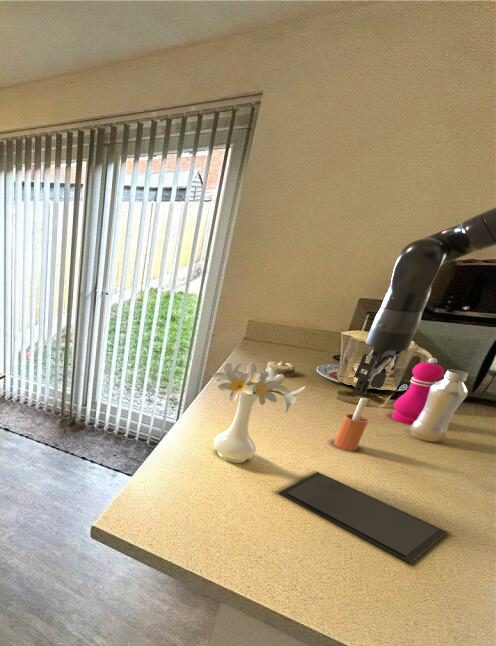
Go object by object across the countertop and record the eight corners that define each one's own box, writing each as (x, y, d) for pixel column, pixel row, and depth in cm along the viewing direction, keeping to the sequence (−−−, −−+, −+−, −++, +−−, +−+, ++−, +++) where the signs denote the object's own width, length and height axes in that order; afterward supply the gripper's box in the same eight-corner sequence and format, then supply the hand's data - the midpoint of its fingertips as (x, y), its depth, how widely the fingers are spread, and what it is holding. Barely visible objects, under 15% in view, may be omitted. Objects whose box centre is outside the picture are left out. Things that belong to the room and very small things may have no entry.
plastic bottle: (419, 431, 112) (451, 366, 104) (448, 443, 106) (484, 375, 98) (400, 433, 111) (431, 368, 103) (429, 446, 105) (464, 377, 97)
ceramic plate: (369, 399, 131) (372, 391, 130) (298, 372, 154) (300, 365, 153) (428, 392, 136) (432, 384, 134) (350, 366, 159) (353, 359, 158)
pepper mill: (428, 428, 113) (460, 363, 106) (396, 424, 116) (425, 360, 108) (413, 417, 120) (442, 355, 112) (383, 413, 122) (410, 352, 114)
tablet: (445, 534, 77) (447, 530, 76) (408, 565, 70) (410, 561, 70) (316, 474, 95) (317, 471, 94) (277, 494, 88) (279, 491, 88)
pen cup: (359, 449, 104) (372, 419, 101) (350, 453, 102) (362, 423, 99) (338, 441, 108) (350, 412, 105) (329, 445, 106) (341, 416, 103)
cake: (298, 380, 149) (303, 367, 146) (268, 378, 151) (272, 365, 149) (288, 368, 157) (292, 356, 154) (260, 367, 160) (263, 355, 157)
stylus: (349, 446, 105) (368, 399, 99) (346, 447, 104) (366, 400, 99) (343, 443, 106) (362, 397, 100) (340, 445, 105) (359, 398, 100)
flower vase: (278, 481, 93) (311, 385, 83) (192, 458, 102) (212, 369, 92) (275, 454, 103) (305, 366, 93) (197, 436, 112) (216, 353, 102)
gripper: (400, 336, 86) (372, 401, 93) (428, 327, 92) (400, 390, 98) (358, 328, 92) (335, 390, 99) (387, 320, 98) (362, 379, 105)
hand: (367, 390), depth 99 cm, fingers open, 8 cm apart
